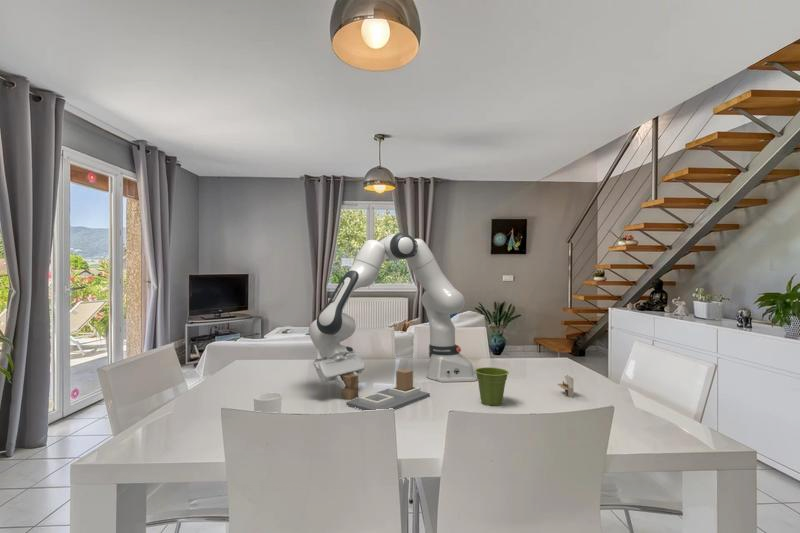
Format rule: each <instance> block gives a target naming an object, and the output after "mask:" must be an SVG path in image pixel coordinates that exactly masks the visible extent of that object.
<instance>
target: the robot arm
mask: <svg viewBox="0 0 800 533" xmlns="http://www.w3.org/2000/svg"><path fill="white" fill-rule="evenodd" d="M400 260H405V261H407V262H408V264H409V267H410V268H411V270H412V272H413V274H414V276H415V278H416V280H417V281H418V284H419V286H421V287H422V288H423V289H424V290H425V291H424V292H423V294H422V296H421V304H422V306H423V308H424V309H425V312H426V316H427V318H428V319H427V320H428V323H429V343H430V344H429V345H428V356H429V361H428V362H429V363H428V364H429V365H428V370H427V373H426V377H427V378H428V379H430V380H434V381H438V382H441V383H449V382H450V383H451V382H453V383H454V382H476V381H478V379H477V374H476V372H475V371H474V368H473V365H472V362H471V361H470V360H469V359H468V358H466V357H465V356H464V355H462V354H461V352H462V348H461V347H460V346H459V345H457V344H456V327H455V324H454V323H453V322H452V319H451V315H455V314H458V313H460V312H462V310H464V307H465V304H466V303H465V300H466V299H465V297H464V295H463V294H462V293H461V292H460V291H459V290H457V289H456V287H454V285H453V284H452V283H451V282H450V281H449V279H448V278H447V277H446V275H445V274H444V273H443V271H442V269H441V267H440V265H439V264H438V262H437V259H436V257H435V256H434V254H433V252H432V251H431V249H430V248H429V246H428V244H427V243H426V242H425V241H424V240H423V239H421V238H413V237H412V236H411V235H409V234H408V233H404V232H398V233H392V234H389V235H386V236H383V237H381V238H380V239H379V240H376V239H368V240H366V241H365V242H364V243H363V244H362V246H361V248H360V249H359V251H358V253H357V254H356V257H355V258H354V260H353V263H352V264H351V267H349V270H348V271H347V272H346V273H344V275H343V276H342V277H341V279H340V281H339V283H338V284H337V286H336V287H335V289H334V291H333V293H332V294H331V296H330V298H329V300H328V301H327V303H326V305H325V306H324V307H322V309H321V310H319V313H318V314H317V317H316V319H314V320H313V321H312V322H311V323H310V325H309V327H308V334H309V337H310V339H311V342H312V344H313V345H314V348H315V349H316V350H317V351H318V353H319V356H320V358H316V359H315V360H314V361H313V366H314V368H315V369H316V370H315V371H316V374H317V376H318V379H319V380H320V382H322V383H327V382H331V381H335V384H338V385H339V386H340V387H342V389H343V388H346V387H347V384H346V382H343V381H342V380H341V376H343V375H347V374H354V375H359V374H362V373H363V371H364V370H365V368H366V365H365V363H364V362H363V360H362V358H361V357H360V355H359V354H358V353H356V349H355V347H354V346H345V345H343V344H341V342H343V341H345V340H347V339H349V337H351V336H353V334H354V333H355V331H356V321H355V319H354V318H353V317H352V316H350V315H349V314H347V313H344V308H345V306H346V305H347V304H348V301H349V299H350V297H351V295H352V293H354V292H355V291H356V290H357V289H360V288H367V287H369V286H371V285H373V284H374V283H375V281H376V280H377V278H378V275H379V273H380V271H381V268H382V265H383V264H384V262H385V261H389V262H390V261H400ZM359 383H360V381H359V380H358V384H359Z"/></svg>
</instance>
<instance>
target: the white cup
mask: <svg viewBox="0 0 800 533" xmlns="http://www.w3.org/2000/svg"><path fill="white" fill-rule="evenodd" d="M282 396H283V395H282V393H279V392H275V391H274V392H272V391H271V392H262V393H258V394H256V395H254V396H253V411H261V412H278V413H281V414H282Z"/></svg>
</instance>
